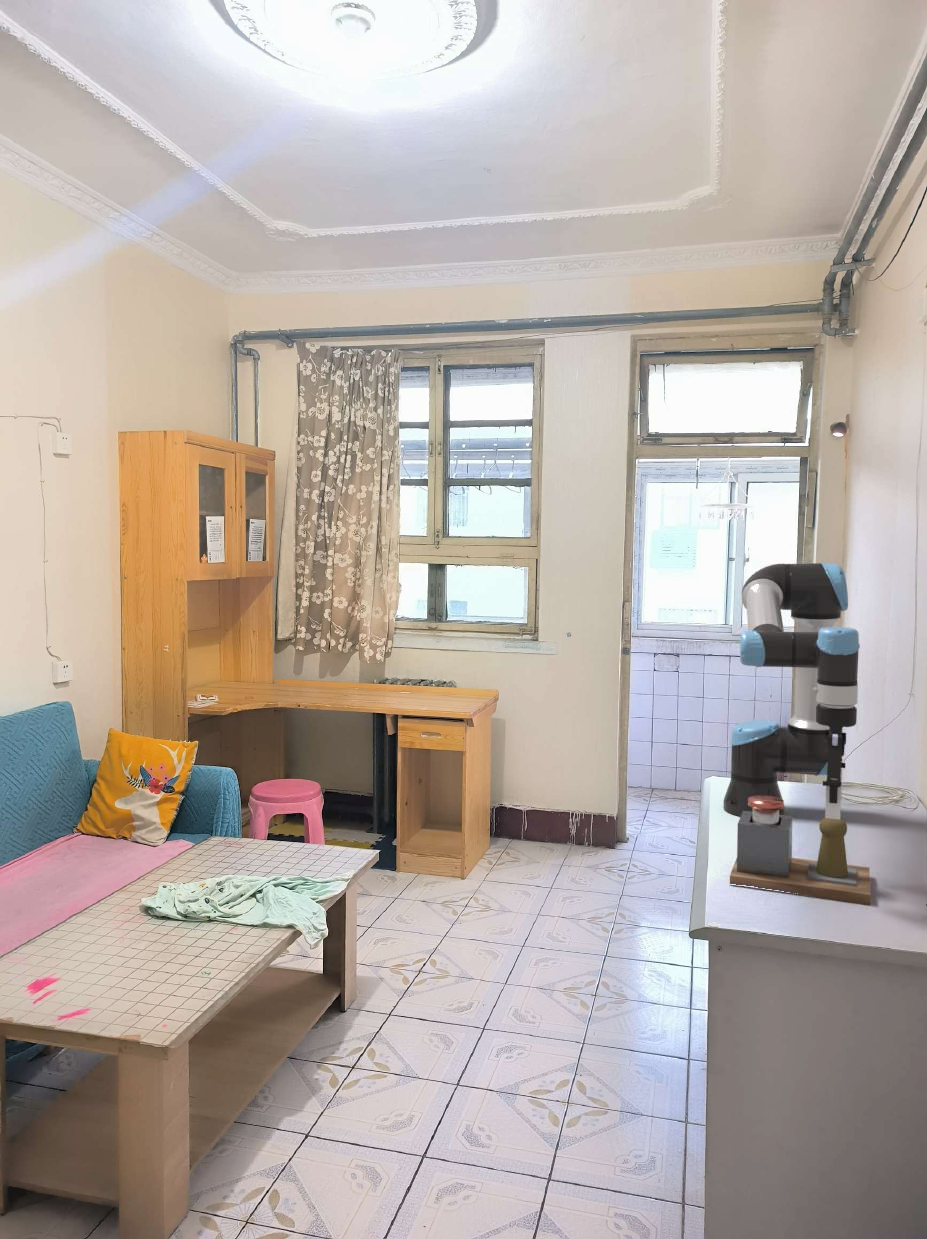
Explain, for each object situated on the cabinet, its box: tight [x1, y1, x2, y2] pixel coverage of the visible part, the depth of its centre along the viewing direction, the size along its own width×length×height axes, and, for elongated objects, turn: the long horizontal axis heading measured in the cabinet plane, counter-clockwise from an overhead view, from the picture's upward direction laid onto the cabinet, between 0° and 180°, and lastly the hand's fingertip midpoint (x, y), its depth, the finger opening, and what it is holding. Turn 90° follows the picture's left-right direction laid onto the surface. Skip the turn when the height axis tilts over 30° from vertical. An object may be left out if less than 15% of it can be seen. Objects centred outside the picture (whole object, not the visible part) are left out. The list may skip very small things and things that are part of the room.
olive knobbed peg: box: [816, 817, 848, 877], centre depth 179 cm, size 6×6×11 cm
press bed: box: [729, 857, 872, 906], centre depth 181 cm, size 16×26×3 cm, turn 66°
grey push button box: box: [736, 811, 794, 878], centre depth 184 cm, size 10×10×10 cm
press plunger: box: [748, 795, 785, 826], centre depth 183 cm, size 7×7×9 cm
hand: (833, 808), depth 178 cm, fingers open, 13 cm apart
